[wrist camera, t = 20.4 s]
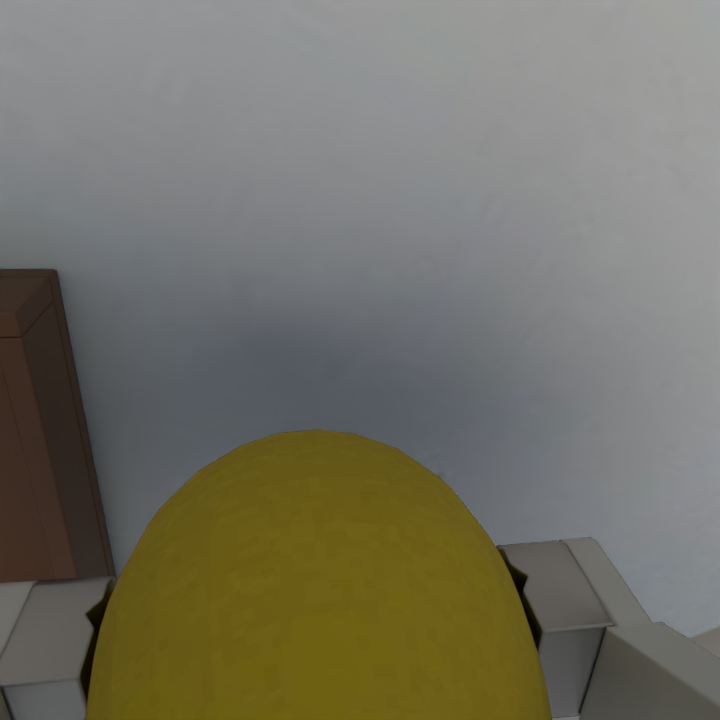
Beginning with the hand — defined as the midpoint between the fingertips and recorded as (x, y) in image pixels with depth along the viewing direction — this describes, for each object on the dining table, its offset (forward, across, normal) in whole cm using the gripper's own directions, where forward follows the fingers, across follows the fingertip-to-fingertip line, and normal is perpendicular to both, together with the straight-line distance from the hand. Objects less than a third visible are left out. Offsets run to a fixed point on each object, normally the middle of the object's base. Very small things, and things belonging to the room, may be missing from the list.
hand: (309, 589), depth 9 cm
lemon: (+3, 0, 0) cm, 3 cm away
